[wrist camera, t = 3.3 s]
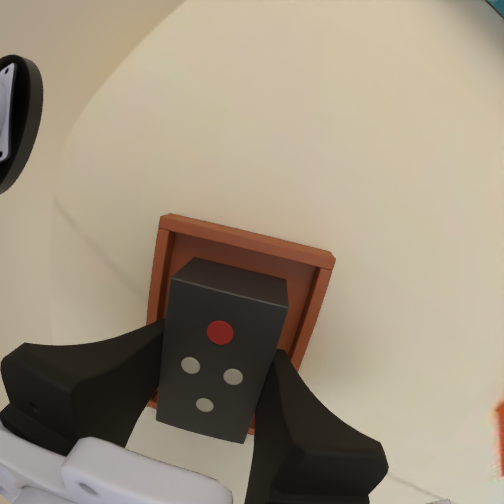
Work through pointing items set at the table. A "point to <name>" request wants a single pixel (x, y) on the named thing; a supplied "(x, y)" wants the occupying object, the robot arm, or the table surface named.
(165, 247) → the dish
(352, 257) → the table surface
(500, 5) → the data package
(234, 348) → the remote
